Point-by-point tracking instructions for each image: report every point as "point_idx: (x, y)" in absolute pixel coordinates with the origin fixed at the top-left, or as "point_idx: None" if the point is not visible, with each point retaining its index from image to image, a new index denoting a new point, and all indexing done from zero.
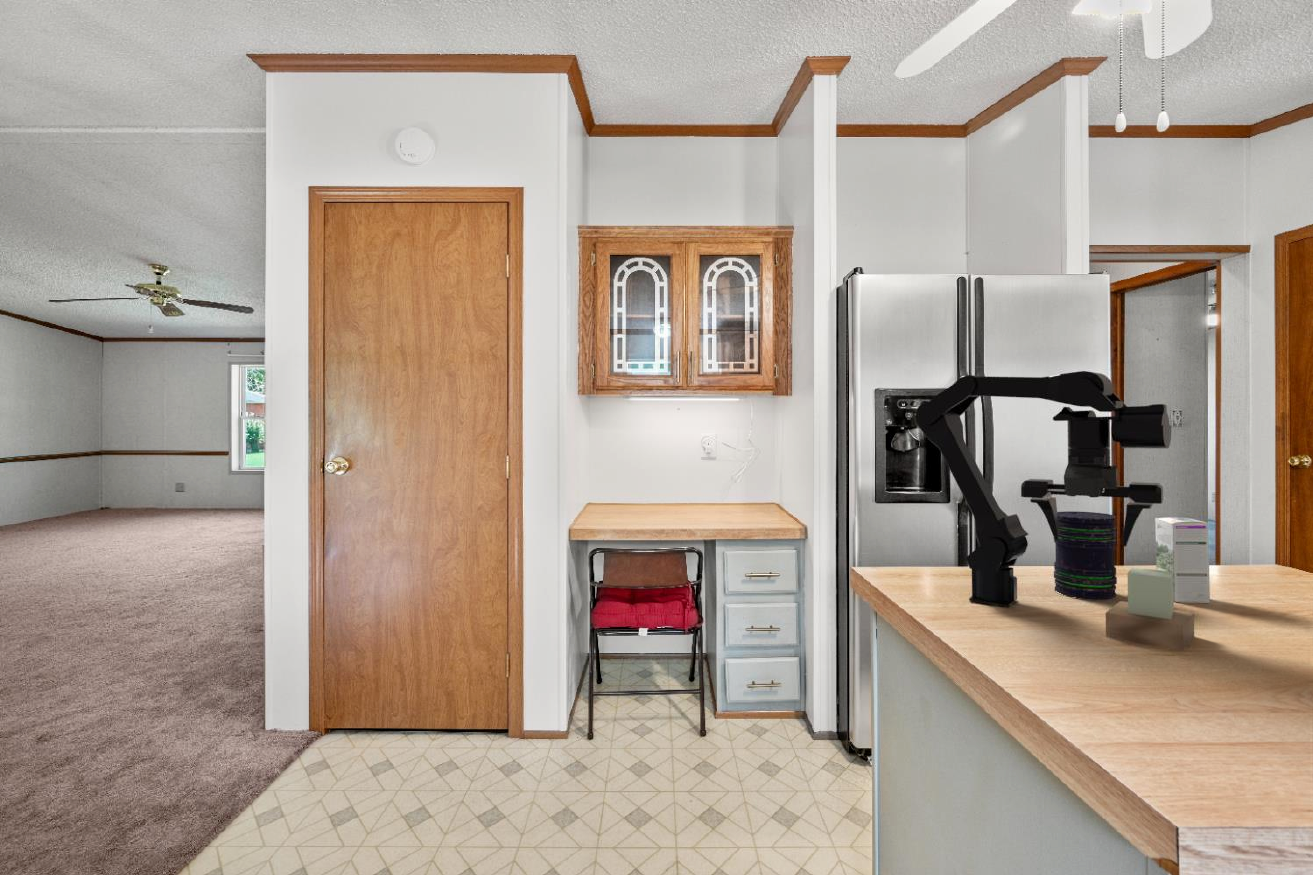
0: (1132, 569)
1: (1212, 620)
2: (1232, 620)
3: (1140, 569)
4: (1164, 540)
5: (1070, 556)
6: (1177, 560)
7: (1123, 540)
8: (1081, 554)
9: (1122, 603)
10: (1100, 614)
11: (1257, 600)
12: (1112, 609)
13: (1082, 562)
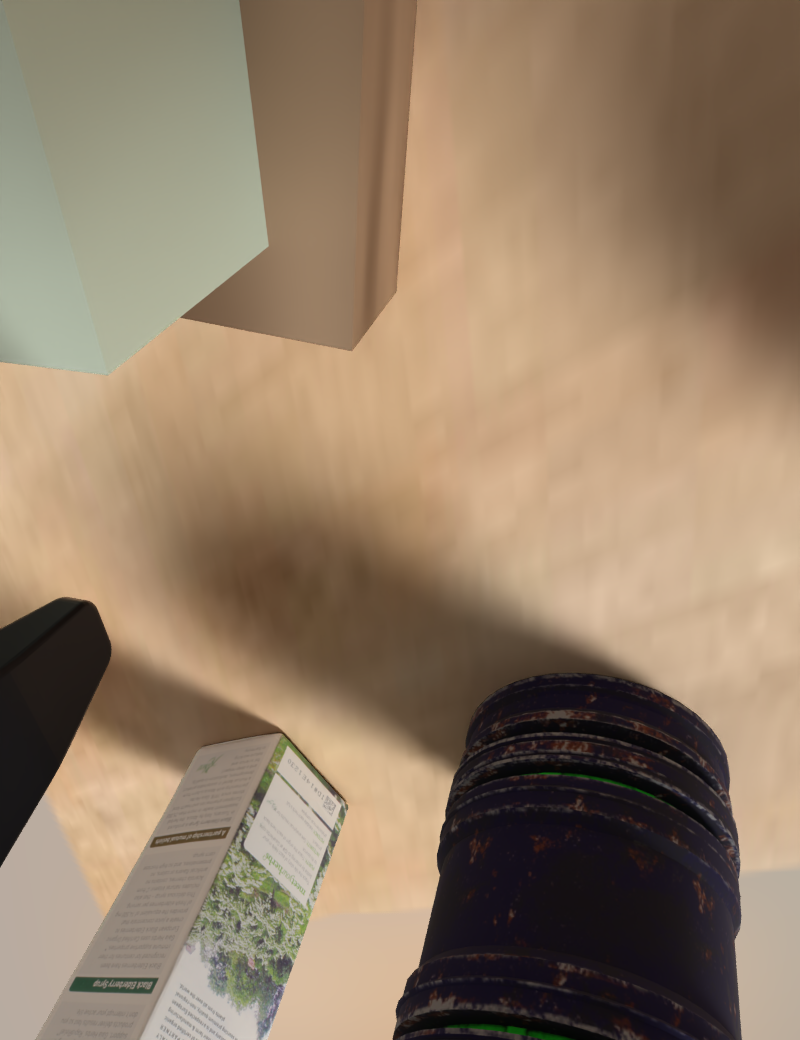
0: (62, 267)
1: (129, 549)
2: (89, 576)
3: (22, 312)
4: (210, 1022)
5: (651, 913)
6: (195, 895)
7: (31, 638)
8: (584, 916)
9: (328, 280)
10: (507, 432)
11: (125, 804)
12: (348, 5)
13: (583, 862)
